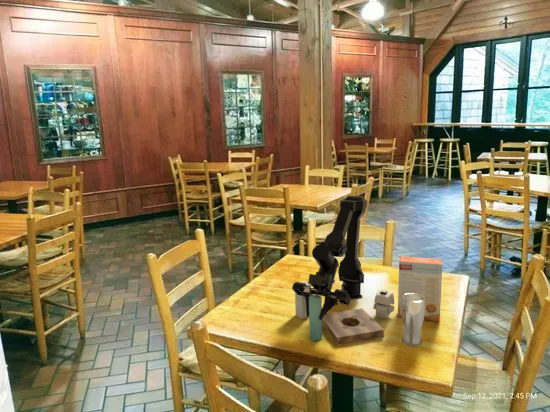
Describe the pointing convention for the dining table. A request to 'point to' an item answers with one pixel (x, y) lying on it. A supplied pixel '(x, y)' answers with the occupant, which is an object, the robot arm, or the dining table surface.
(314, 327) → the round dowel
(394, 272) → the dining table surface
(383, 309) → the white blocky figure
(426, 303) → the cracker box
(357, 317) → the socket board
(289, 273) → the dining table surface
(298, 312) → the square dowel
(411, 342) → the beer glass
